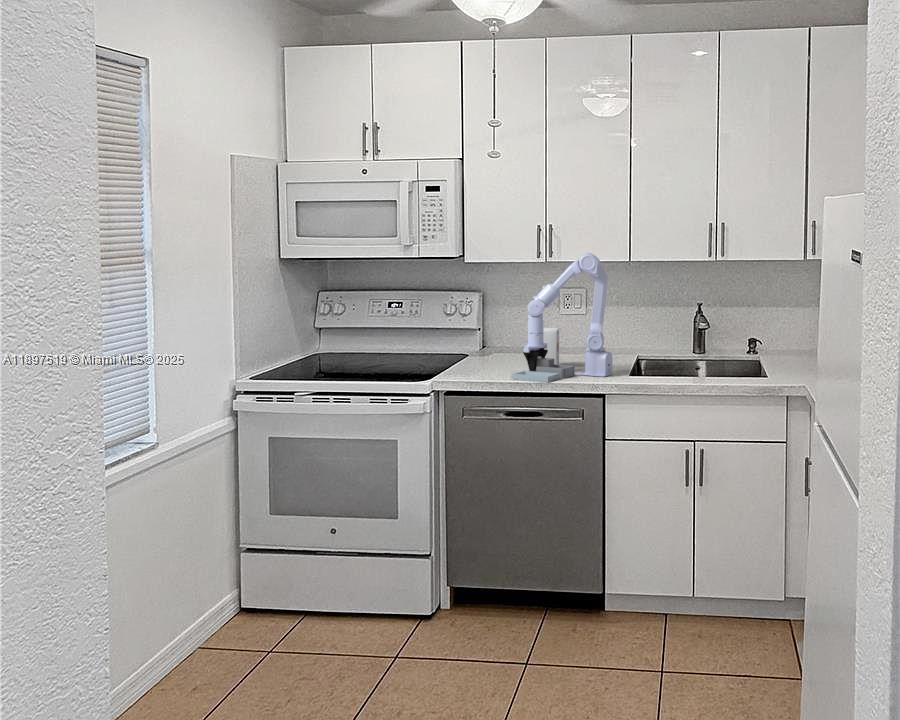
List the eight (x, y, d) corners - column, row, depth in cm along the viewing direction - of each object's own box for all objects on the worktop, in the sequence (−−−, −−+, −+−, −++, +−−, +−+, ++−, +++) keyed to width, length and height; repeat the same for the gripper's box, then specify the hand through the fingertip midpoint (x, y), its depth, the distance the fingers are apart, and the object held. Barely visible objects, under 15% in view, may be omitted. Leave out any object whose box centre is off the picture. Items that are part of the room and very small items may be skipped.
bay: (574, 375, 418) (574, 365, 417) (563, 378, 411) (563, 368, 410) (547, 373, 423) (547, 363, 423) (536, 376, 416) (536, 366, 416)
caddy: (554, 374, 420) (554, 356, 419) (548, 376, 416) (548, 358, 415) (535, 373, 424) (535, 355, 423) (529, 374, 420) (529, 356, 419)
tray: (559, 379, 409) (559, 373, 409) (547, 382, 402) (547, 376, 402) (523, 376, 417) (523, 370, 417) (511, 379, 410) (511, 373, 409)
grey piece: (557, 369, 433) (557, 330, 431) (533, 369, 434) (533, 329, 432) (559, 366, 441) (559, 327, 439) (536, 366, 443) (536, 327, 441)
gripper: (535, 330, 427) (535, 366, 429) (516, 334, 415) (516, 371, 417) (552, 331, 424) (552, 368, 426) (533, 335, 412) (533, 373, 413)
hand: (535, 370), depth 421 cm, fingers closed on caddy, 4 cm apart
